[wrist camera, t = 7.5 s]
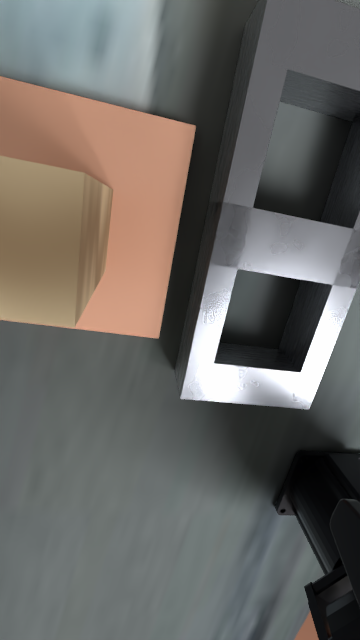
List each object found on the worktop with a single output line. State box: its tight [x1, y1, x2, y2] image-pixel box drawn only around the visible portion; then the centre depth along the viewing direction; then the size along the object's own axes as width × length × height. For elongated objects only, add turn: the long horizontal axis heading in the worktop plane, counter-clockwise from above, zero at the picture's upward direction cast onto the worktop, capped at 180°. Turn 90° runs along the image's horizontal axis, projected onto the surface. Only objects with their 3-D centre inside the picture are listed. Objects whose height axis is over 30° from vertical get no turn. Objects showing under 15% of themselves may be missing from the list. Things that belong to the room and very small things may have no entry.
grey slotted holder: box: [175, 0, 360, 409], centre depth 16 cm, size 18×8×3 cm, turn 169°
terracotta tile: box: [0, 76, 196, 339], centre depth 15 cm, size 11×11×1 cm
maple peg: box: [0, 156, 113, 328], centre depth 11 cm, size 4×4×8 cm
